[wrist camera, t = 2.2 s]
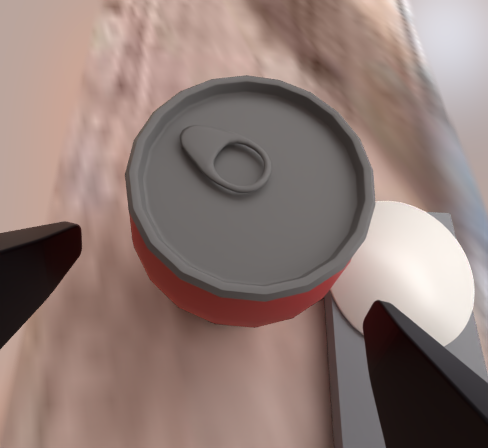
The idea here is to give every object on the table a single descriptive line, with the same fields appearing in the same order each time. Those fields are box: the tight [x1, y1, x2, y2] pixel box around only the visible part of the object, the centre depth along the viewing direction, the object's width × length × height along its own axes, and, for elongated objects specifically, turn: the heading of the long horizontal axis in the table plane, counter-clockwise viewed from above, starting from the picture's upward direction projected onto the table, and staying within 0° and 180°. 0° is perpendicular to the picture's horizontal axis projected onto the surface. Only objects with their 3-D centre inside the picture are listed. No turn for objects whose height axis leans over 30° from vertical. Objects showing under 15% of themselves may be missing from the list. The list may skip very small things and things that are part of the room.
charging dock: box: [324, 201, 488, 448], centre depth 16 cm, size 18×9×2 cm, turn 179°
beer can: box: [125, 75, 375, 328], centre depth 12 cm, size 7×7×12 cm
